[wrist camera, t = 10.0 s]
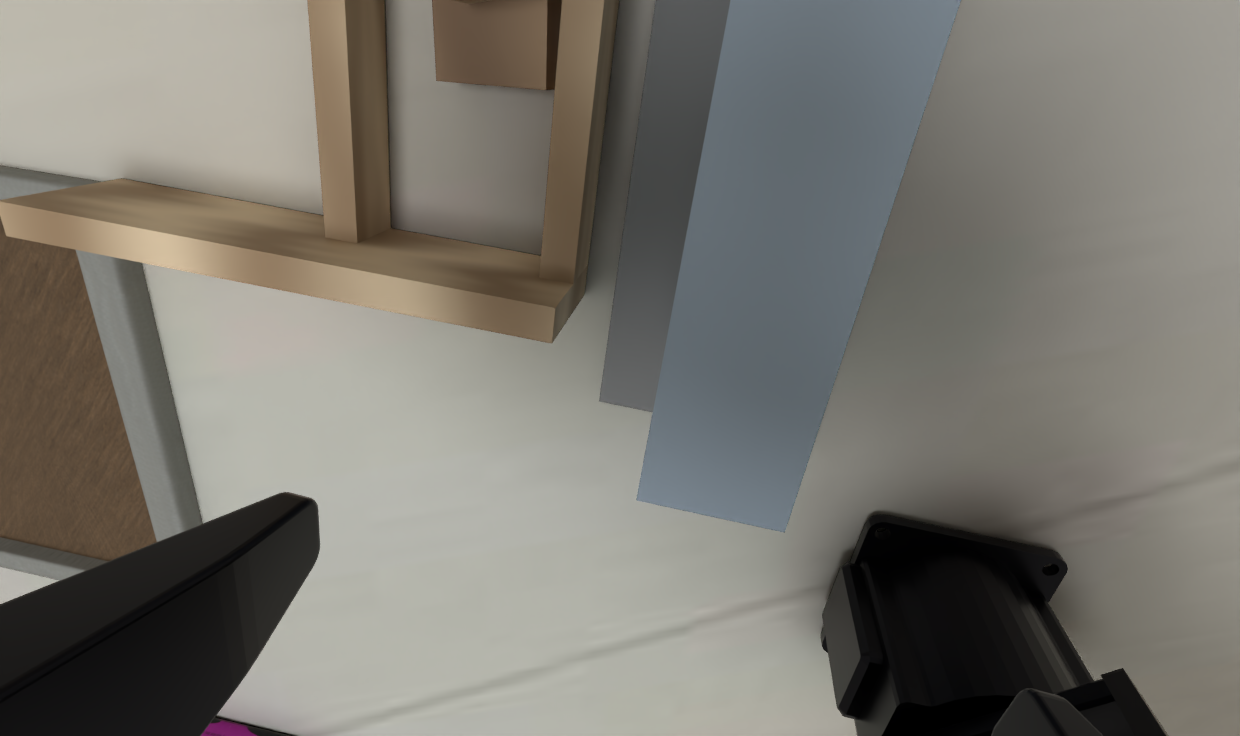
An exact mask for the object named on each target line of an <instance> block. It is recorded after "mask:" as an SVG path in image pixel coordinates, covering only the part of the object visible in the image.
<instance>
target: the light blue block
mask: <svg viewBox="0 0 1240 736" xmlns="http://www.w3.org/2000/svg"><path fill="white" fill-rule="evenodd" d="M960 2H961V0H730V6H729V11H728V16H727V21H726V27H725V32H724V37H723V43H722V48H721V53H720V59H719V64H718V69H717V75H716V80H715V85H714V90H713V96H712V101H711V106H710V112H709V117H708V122H707V128H706V133H705V138H704V144H703V149H702V154H701V159H700V165H699V170H698V175H697V181H696V186H695V191H694V197H693V202H692V207H691V212H690V218H689V223H688V228H687V234H686V239H685V244H684V250H683V255H682V260H681V266H680V271H679V276H678V281H677V287H676V292H675V297H674V303H673V308H672V313H671V319H670V324H669V329H668V335H667V340H666V345H665V350H664V356H663V361H662V366H661V372H660V377H659V382H658V388H657V393H656V398H655V404H654V409H653V414H652V419H651V425H650V430H649V435H648V441H647V446H646V451H645V457H644V462H643V467H642V472H641V478H640V483H639V488H638V494H637V499H636V500H637V501H642V502H647V503H651V504H656V505H660V506H665V507H670V508H674V509H679V510H683V511H688V512H693V513H697V514H702V515H706V516H711V517H716V518H720V519H725V520H729V521H734V522H739V523H743V524H748V525H752V526H757V527H762V528H766V529H771V530H775V531H780V532H785V530H786V527H787V524H788V521H789V518H790V515H791V512H792V509H793V506H794V503H795V500H796V497H797V494H798V491H799V488H800V485H801V482H802V479H803V476H804V473H805V469H806V466H807V463H808V460H809V457H810V454H811V451H812V448H813V445H814V442H815V439H816V436H817V433H818V430H819V427H820V424H821V421H822V418H823V415H824V412H825V409H826V406H827V403H828V400H829V397H830V394H831V391H832V388H833V385H834V382H835V379H836V376H837V373H838V370H839V367H840V364H841V361H842V358H843V355H844V352H845V349H846V346H847V343H848V340H849V337H850V334H851V331H852V328H853V325H854V322H855V319H856V316H857V313H858V310H859V307H860V304H861V301H862V298H863V295H864V292H865V288H866V285H867V282H868V279H869V276H870V273H871V270H872V267H873V264H874V261H875V258H876V255H877V252H878V249H879V246H880V243H881V240H882V237H883V234H884V231H885V228H886V225H887V222H888V219H889V216H890V213H891V210H892V207H893V204H894V201H895V198H896V195H897V192H898V189H899V186H900V183H901V180H902V177H903V174H904V171H905V168H906V165H907V162H908V159H909V156H910V153H911V150H912V147H913V144H914V141H915V138H916V135H917V132H918V129H919V126H920V123H921V120H922V117H923V114H924V111H925V108H926V104H927V101H928V98H929V95H930V92H931V89H932V86H933V83H934V80H935V77H936V74H937V71H938V68H939V65H940V62H941V59H942V56H943V53H944V50H945V47H946V44H947V41H948V38H949V35H950V32H951V29H952V26H953V23H954V20H955V17H956V14H957V11H958V8H959V5H960Z"/></svg>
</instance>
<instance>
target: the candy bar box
mask: <svg viewBox="0 0 1240 736" xmlns="http://www.w3.org/2000/svg"><path fill="white" fill-rule="evenodd" d="M201 736H289V735H285V734H281V733H277V732H272V731H268V730H265V729H260V728H255V727H251V726H247V725H243V724H239V723H235V722H231V721H226V720H222V719H218V718H214V719H213V720H212V722H211V723H210V724H209V726H208V727H207V728H206V730H205V731H204V732H203V733H202V735H201Z"/></svg>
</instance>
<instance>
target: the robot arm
mask: <svg viewBox="0 0 1240 736" xmlns="http://www.w3.org/2000/svg"><path fill="white" fill-rule="evenodd" d="M880 528H886V531H883V532H877V531H876V530H877V529H880ZM319 550H320V535H319V516H318V505H317V503H316V502H315V500H313V499H312V498H309V497H305V496H301V495H297V494H294V493H290V492H283V493H279V494H276V495H274V496H271V497H269V498H266V499H264V500H261V501H259V502H256V503H254V504H251V505H249V506H246V507H244V508H241V509H239V510H236V511H234V512H231V513H229V514H226V515H224V516H221V517H219V518H216V519H214V520H211V521H209V522H206V523H204V524H201V525H199V526H196V527H193V528H191V529H188V530H186V531H183V532H181V533H178V534H176V535H173V536H171V537H168V538H166V539H163V540H161V541H158V542H156V543H153V544H151V545H148V546H146V547H143V548H141V549H138V550H136V551H133V552H131V553H128V554H126V555H123V556H121V557H118V558H116V559H113V560H111V561H108V562H106V563H103V564H101V565H98V566H96V567H93V568H90V569H88V570H85V571H83V572H80V573H78V574H75V575H73V576H70V577H68V578H65V579H63V580H60V581H58V582H55V583H53V584H50V585H48V586H45V587H43V588H40V589H38V590H35V591H33V592H30V593H28V594H25V595H23V596H20V597H18V598H15V599H13V600H10V601H8V602H5V603H3V604H0V736H201V735H202V733H203V732H204V731H205V730H206V728H207V727H208V726H209V724H210V723H211V722H212V720H213V719H214V718H215V716H216V715H217V714H218V712H219V711H220V710H221V708H222V707H223V706H224V704H225V703H226V702H227V700H228V699H229V698H230V696H231V695H232V694H233V692H234V691H235V690H236V688H237V687H238V685H239V684H240V683H241V681H242V680H243V678H244V677H245V676H246V674H247V673H248V671H249V670H250V668H251V667H252V665H253V664H254V662H255V661H256V659H257V658H258V656H259V654H260V653H261V651H262V650H263V648H264V646H265V645H266V643H267V641H268V640H269V638H270V636H271V635H272V633H273V632H274V630H275V628H276V627H277V625H278V623H279V622H280V620H281V619H282V617H283V615H284V614H285V612H286V610H287V609H288V607H289V605H290V604H291V602H292V601H293V599H294V597H295V596H296V594H297V592H298V591H299V589H300V587H301V586H302V584H303V583H304V581H305V579H306V578H307V576H308V574H309V573H310V571H311V569H312V568H313V566H314V564H315V562H316V560H317V558H318V554H319ZM1048 564H1052V565H1051V566H1048V567H1044V566H1045V565H1048ZM1067 570H1068V567H1067V564H1066V563H1065V561H1064V560H1063V558H1062V557H1061V555H1060V554H1059V553H1058V552H1055V551H1053V550H1049V549H1044V548H1039V547H1035V546H1030V545H1025V544H1020V543H1016V542H1011V541H1006V540H1001V539H997V538H992V537H987V536H982V535H978V534H973V533H968V532H963V531H959V530H954V529H949V528H945V527H940V526H935V525H930V524H926V523H921V522H916V521H911V520H907V519H902V518H897V517H892V516H888V515H875V516H872V517H871V518H869V519H868V520H867V522H866V523H865V526H864V528H863V531H862V533H861V536H860V538H859V541H858V543H857V546H856V548H855V551H854V553H853V556H852V558H851V561H850V563H846V564H844V565H843V566H842V567H841V568H840V570H839V573H838V575H837V578H836V580H835V583H834V585H833V588H832V591H831V593H830V596H829V598H828V601H827V603H826V606H825V608H824V611H823V614H822V617H823V624H824V628H823V630H822V633H821V643H822V647H823V649H824V650H825V651H826V652H827V653H828V655H829V661H830V667H831V673H832V680H833V686H834V692H835V698H836V704H837V708H838V710H839V711H840V713H841V714H842V716H844V717H848V718H852V719H854V721H855V726H856V732H857V736H1169V735H1168V734H1167V732H1166V731H1165V729H1164V728H1163V727H1162V725H1161V724H1160V722H1159V721H1158V719H1157V718H1156V716H1155V715H1154V713H1153V712H1152V710H1151V709H1150V707H1149V706H1148V704H1147V703H1146V701H1145V700H1144V698H1143V697H1142V695H1141V694H1140V693H1139V691H1138V690H1137V688H1136V687H1135V685H1134V684H1133V682H1132V681H1131V679H1130V678H1129V676H1128V675H1127V673H1126V672H1125V670H1124V669H1123V668H1122V669H1118V670H1115V671H1112V672H1109V673H1105V674H1102V675H1101V676H1102V678H1103V679H1100V680H1097V681H1094V680H1093V679H1092V677H1091V675H1090V673H1089V672H1088V670H1087V668H1086V667H1085V665H1084V663H1083V662H1082V660H1081V658H1080V656H1079V655H1078V653H1077V651H1076V650H1075V648H1074V646H1073V645H1072V643H1071V641H1070V639H1069V638H1068V636H1067V634H1066V633H1065V631H1064V629H1063V628H1062V626H1061V624H1060V622H1059V621H1058V619H1057V617H1056V616H1055V614H1054V612H1053V611H1052V609H1051V607H1050V605H1049V604H1048V602H1049V601H1050V599H1051V597H1052V596H1053V594H1054V593H1055V591H1056V589H1057V588H1058V586H1059V584H1060V583H1061V581H1062V579H1063V578H1064V576H1065V575H1066V573H1067Z"/></svg>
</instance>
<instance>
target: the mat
mask: <svg viewBox="0 0 1240 736" xmlns="http://www.w3.org/2000/svg"><path fill="white" fill-rule="evenodd" d="M729 6H730V0H656V3H655V10H654V17H653V24H652V31H651V38H650V45H649V52H648V59H647V66H646V73H645V80H644V88H643V95H642V102H641V109H640V116H639V123H638V130H637V137H636V144H635V151H634V158H633V166H632V173H631V180H630V187H629V194H628V201H627V208H626V215H625V222H624V229H623V236H622V244H621V251H620V258H619V265H618V272H617V279H616V286H615V293H614V300H613V307H612V314H611V321H610V329H609V336H608V343H607V350H606V357H605V364H604V371H603V378H602V385H601V392H600V399H599V401H600V402H605V403H610V404H615V405H620V406H625V407H630V408H635V409H639V410H644V411H649V412H653V409H654V404H655V398H656V393H657V388H658V382H659V377H660V372H661V366H662V361H663V356H664V350H665V345H666V340H667V335H668V329H669V324H670V319H671V313H672V308H673V303H674V297H675V292H676V287H677V281H678V276H679V271H680V266H681V260H682V255H683V250H684V244H685V239H686V234H687V228H688V223H689V218H690V212H691V207H692V202H693V197H694V191H695V186H696V181H697V175H698V170H699V165H700V159H701V154H702V149H703V144H704V138H705V133H706V128H707V122H708V117H709V112H710V106H711V101H712V96H713V90H714V85H715V80H716V75H717V69H718V64H719V59H720V53H721V48H722V43H723V37H724V32H725V27H726V21H727V16H728V11H729Z"/></svg>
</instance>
